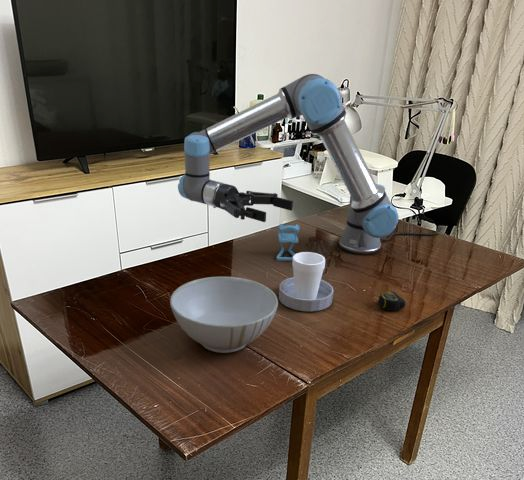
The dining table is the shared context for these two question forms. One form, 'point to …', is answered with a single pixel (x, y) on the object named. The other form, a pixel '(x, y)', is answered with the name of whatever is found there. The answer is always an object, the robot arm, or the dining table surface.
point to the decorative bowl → (224, 311)
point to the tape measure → (391, 301)
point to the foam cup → (307, 274)
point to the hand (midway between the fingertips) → (279, 211)
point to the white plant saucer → (317, 304)
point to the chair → (287, 239)
